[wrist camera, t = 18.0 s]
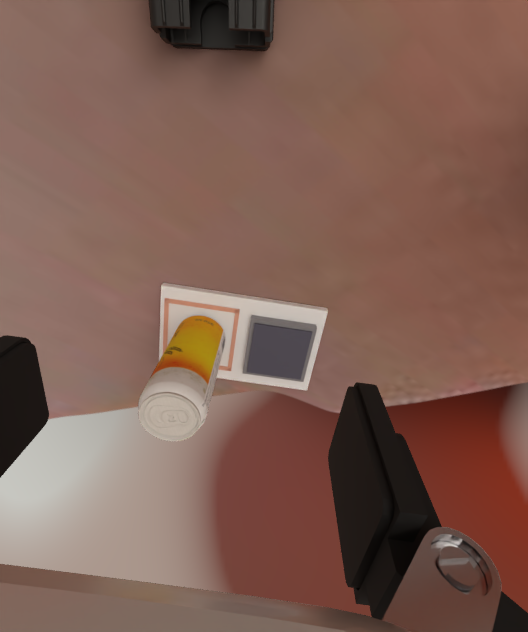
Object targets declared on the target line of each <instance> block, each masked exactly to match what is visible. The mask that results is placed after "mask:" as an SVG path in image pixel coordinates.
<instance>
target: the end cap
mask: <svg viewBox="0 0 528 632" xmlns="http://www.w3.org/2000/svg"><path fill="white" fill-rule="evenodd" d="M149 8H150V19H151V27H152V29H153V30H154V31H155V32H156V33H160V37H161V38H162V39H163V40H164V41H165V42H166V43H169V44H172V45H173V47H176V48H193V49H222V50H252V51H265V50H267V49H268V48H269V46H270V43H271V42H272V40H273V22H274V0H149Z"/></svg>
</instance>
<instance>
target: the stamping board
mask: <svg viewBox="0 0 528 632" xmlns="http://www.w3.org/2000/svg"><path fill="white" fill-rule="evenodd" d="M327 313H328V310H327V308H325V307H319V306H312V305H306V304H299V303H293V302H286V301H280V300H273V299H267V298H260V297H254V296H247V295H241V294H234V293H228V292H221V291H215V290H208V289H202V288H195V287H189V286H183V285H176V284H170V283H163V284H162V285H161V309H160V344H159V361H160V359H161V357H162V355H163V354H164V352H165V350H166V348H167V346H168V344H169V343H170V341H171V339H172V337H173V335H174V333H175V332H176V330H177V328H178V326H179V325H180V323H181V322H182V321H183V320H185V319H186V318H188V317H191V316H197V315H200V316H206V317H209V318H211V319H213V320H215V321H216V322H217V323H219V325H220V326H221V327H222V329H223V330H224V333H225V338H226V340H225V345H224V349H223V353H222V357H221V361H220V365H219V369H218V373H217V377H216V378H222V379H229V380H236V381H243V382H250V383H257V384H264V385H271V386H279V387H286V388H293V389H300V390H307V389H308V385H309V381H310V377H311V373H312V370H313V366H314V362H315V358H316V355H317V351H318V347H319V343H320V340H321V336H322V332H323V328H324V325H325V321H326V317H327Z"/></svg>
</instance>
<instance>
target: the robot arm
mask: <svg viewBox="0 0 528 632" xmlns="http://www.w3.org/2000/svg"><path fill="white" fill-rule="evenodd" d="M48 417H49V411H48V406H47V402H46V397H45V392H44V387H43V382H42V377H41V372H40V367H39V362H38V357H37V353H36V348H35V346H34V345H33V344H31V342H30V341H29V339H27V338H22V337H15V336H2V337H0V477H1V476H2V475H3V474H4V473H5V471H6V470H7V469H8V468H9V467H10V466H11V464H12V463H13V462H14V461H15V460H16V459H17V457H18V456H19V455H20V454H21V453H22V451H23V450H24V449H25V448H26V447H27V446H28V445H29V443H30V442H31V441H32V440H33V439H34V438H35V436H36V435H37V434H38V433H39V432H40V431H41V429H42V428H43V427H44V426H45V424H46V422H47V421H48ZM328 461H329V469H330V476H331V483H332V490H333V497H334V503H335V511H336V517H337V524H338V531H339V537H340V545H341V552H342V558H343V565H344V572H345V579H346V583H347V585H348V587H352V588H354V594H355V599H356V604H363V605H370V610H371V615H372V617H373V618H372V617H369V616H366V615H361V614H357V613H352V612H347V611H342V610H337V609H332V608H327V607H321V606H314V605H307V604H301V603H294V602H288V601H281V600H274V599H268V598H261V597H255V596H247V595H239V594H232V593H223V592H216V591H209V590H201V589H194V588H186V587H178V586H170V585H163V584H156V583H148V582H140V581H132V580H125V579H116V578H109V577H101V576H93V575H85V574H77V573H69V572H61V571H53V570H45V569H37V568H29V567H21V566H13V565H5V564H0V632H528V613H527V612H526V611H524V610H523V609H522V608H521V607H520V606H519V605H517V604H516V603H515V602H514V601H513V600H511V599H510V598H509V597H508V596H507V595H505V594H504V593H503V592H502V591H501V580H500V577H499V574H498V571H497V569H496V567H495V565H494V564H493V562H492V560H491V559H490V557H489V556H488V555H487V554H486V553H485V551H484V550H483V549H482V548H481V547H480V546H479V545H478V544H477V543H476V542H474V541H473V540H472V539H470V538H469V537H468V536H466V535H464V534H463V533H461V532H459V531H456V530H454V529H451V528H448V527H442V526H441V524H440V522H439V519H438V517H437V514H436V512H435V510H434V507H433V505H432V502H431V500H430V498H429V495H428V493H427V491H426V488H425V486H424V483H423V481H422V479H421V476H420V474H419V471H418V469H417V467H416V464H415V462H414V460H413V457H412V455H411V452H410V450H409V448H408V445H407V443H406V440H405V439H404V437H403V436H402V435H401V434H398V433H395V431H394V428H393V426H392V423H391V420H390V418H389V415H388V413H387V410H386V408H385V405H384V403H383V400H382V398H381V395H380V393H379V390H378V388H377V386H376V385H372V384H365V383H355V385H354V387H348V389H347V392H346V395H345V399H344V402H343V406H342V409H341V412H340V416H339V419H338V422H337V426H336V429H335V433H334V436H333V439H332V442H331V446H330V449H329V456H328Z"/></svg>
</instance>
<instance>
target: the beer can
mask: <svg viewBox="0 0 528 632" xmlns="http://www.w3.org/2000/svg"><path fill="white" fill-rule="evenodd" d="M225 340H226V338H225V333H224V330H223V329H222V327H221V326H220V325H219V323H217V322H216V321H215V320H213V319H211V318H209V317H206V316H200V315H197V316H191V317H188V318H186V319H185V320H183V321H182V322H181V323H180V325H179V326H178V328H177V330H176V332H175V333H174V335H173V337H172V339H171V341H170V343H169V344H168V346H167V348H166V350H165V352H164V354H163V355H162V357H161V359H160V361H159V363H158V365H157V366H156V368H155V370H154V372H153V374H152V376H151V377H150V379H149V381H148V383H147V385H146V387H145V388H144V390H143V392H142V394H141V396H140V398H139V403H138V407H139V414H138V415H139V420H140V423H141V425H142V426H143V428H144V429H145V430H146V431H147V432H148V433H150V434H151V435H153V436H154V437H156V438H159V439H161V440H165V441H182V440H185V439H188V438H190V437H191V436H193V435H194V434H195V433H196V432H197V430H198V429H199V428H200V427H201V426H202V425H203V423H204V422H205V420H206V417H207V413H208V409H209V405H210V401H211V397H212V393H213V389H214V385H215V381H216V377H217V373H218V369H219V365H220V361H221V357H222V353H223V349H224V345H225Z"/></svg>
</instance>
